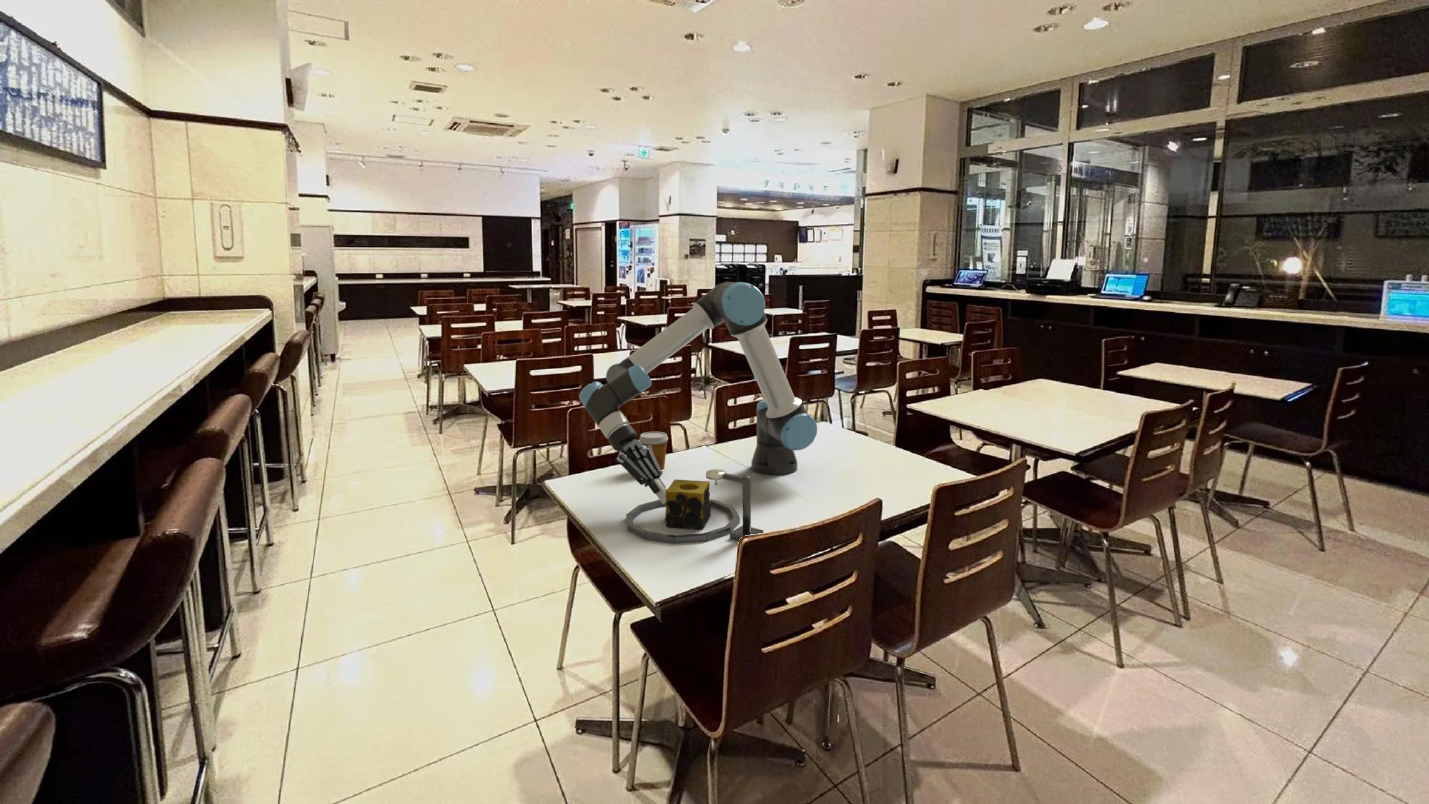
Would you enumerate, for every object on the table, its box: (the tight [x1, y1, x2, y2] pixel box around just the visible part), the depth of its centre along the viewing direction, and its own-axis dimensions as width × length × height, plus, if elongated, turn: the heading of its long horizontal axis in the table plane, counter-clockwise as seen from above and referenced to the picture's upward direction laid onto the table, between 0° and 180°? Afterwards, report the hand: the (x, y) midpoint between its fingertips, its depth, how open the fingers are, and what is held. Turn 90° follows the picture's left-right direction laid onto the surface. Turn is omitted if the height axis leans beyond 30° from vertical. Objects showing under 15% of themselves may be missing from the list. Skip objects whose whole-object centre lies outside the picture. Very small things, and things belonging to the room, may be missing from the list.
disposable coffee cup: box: [638, 431, 669, 470], centre depth 225 cm, size 10×10×12 cm
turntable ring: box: [625, 498, 741, 544], centre depth 180 cm, size 29×29×2 cm
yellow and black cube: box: [664, 478, 712, 531], centre depth 178 cm, size 10×10×10 cm
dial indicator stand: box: [705, 468, 765, 542], centre depth 170 cm, size 14×6×16 cm, turn 55°
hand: (667, 501), depth 182 cm, fingers closed
